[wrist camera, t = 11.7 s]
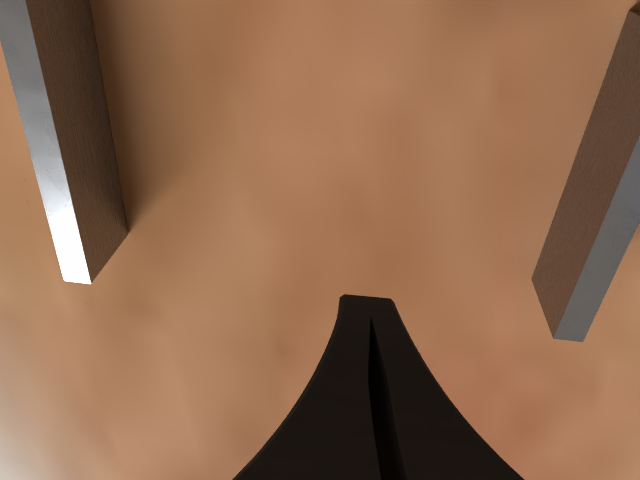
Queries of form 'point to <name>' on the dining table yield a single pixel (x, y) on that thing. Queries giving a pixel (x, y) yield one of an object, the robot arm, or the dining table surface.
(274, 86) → the dining table surface
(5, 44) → the pair of rectangular slabs
